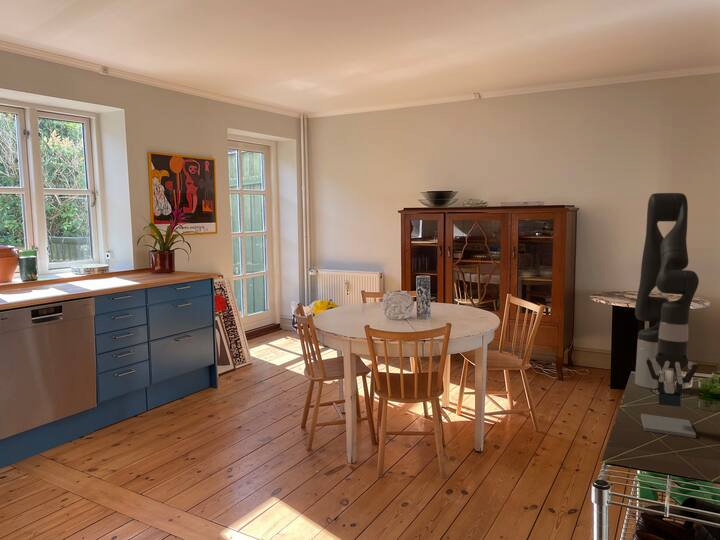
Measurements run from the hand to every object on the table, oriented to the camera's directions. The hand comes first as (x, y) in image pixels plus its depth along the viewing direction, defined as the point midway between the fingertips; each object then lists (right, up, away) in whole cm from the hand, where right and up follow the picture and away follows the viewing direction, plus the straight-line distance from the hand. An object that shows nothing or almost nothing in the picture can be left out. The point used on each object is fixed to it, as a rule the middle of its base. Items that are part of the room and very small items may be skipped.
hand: (669, 394), depth 161 cm
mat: (0, -10, +1) cm, 10 cm away
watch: (0, -3, 0) cm, 3 cm away
